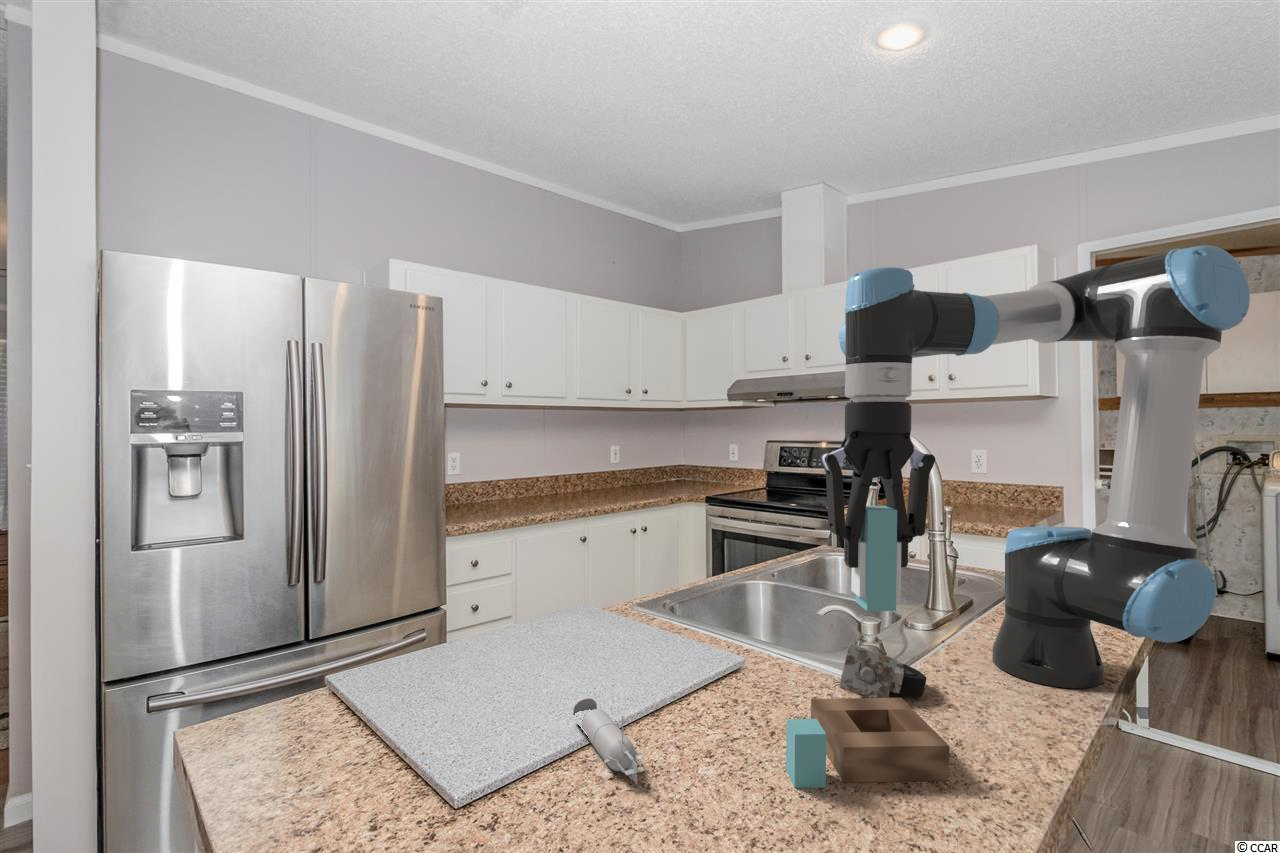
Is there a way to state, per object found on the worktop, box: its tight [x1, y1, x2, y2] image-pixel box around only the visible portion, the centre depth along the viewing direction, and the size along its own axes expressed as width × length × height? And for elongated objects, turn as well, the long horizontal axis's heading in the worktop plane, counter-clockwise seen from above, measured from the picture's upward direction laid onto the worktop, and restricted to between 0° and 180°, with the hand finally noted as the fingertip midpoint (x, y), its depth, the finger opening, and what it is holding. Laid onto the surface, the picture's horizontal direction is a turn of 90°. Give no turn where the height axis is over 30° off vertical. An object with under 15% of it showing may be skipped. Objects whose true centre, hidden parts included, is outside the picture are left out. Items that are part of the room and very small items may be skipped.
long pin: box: [855, 505, 897, 612], centre depth 77 cm, size 4×4×12 cm
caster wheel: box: [838, 643, 928, 698], centre depth 95 cm, size 7×11×10 cm
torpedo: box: [572, 696, 645, 785], centre depth 78 cm, size 18×5×7 cm, turn 26°
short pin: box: [785, 718, 827, 789], centre depth 72 cm, size 4×4×6 cm
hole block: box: [810, 697, 950, 784], centre depth 77 cm, size 12×12×4 cm
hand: (875, 593), depth 77 cm, fingers closed on long pin, 3 cm apart
